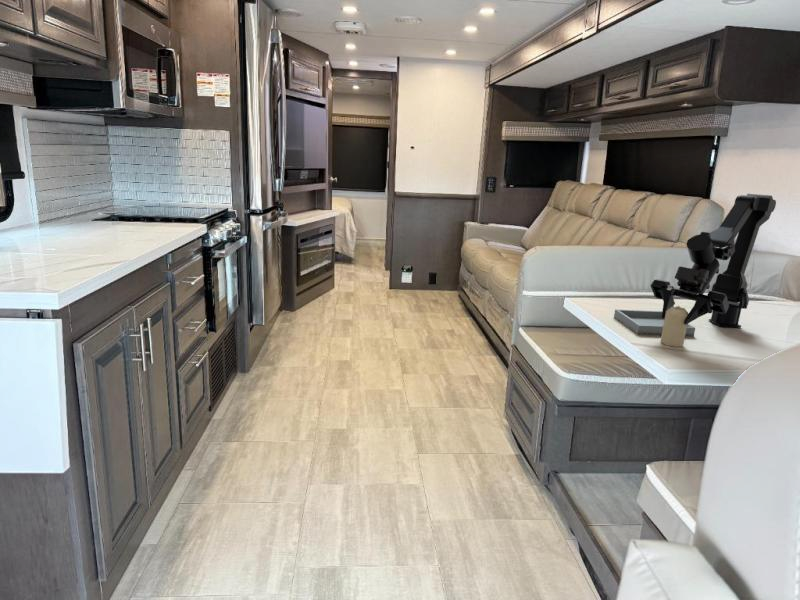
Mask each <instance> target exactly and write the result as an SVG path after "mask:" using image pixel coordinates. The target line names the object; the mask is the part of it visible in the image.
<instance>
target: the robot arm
mask: <svg viewBox="0 0 800 600" xmlns="http://www.w3.org/2000/svg"><path fill="white" fill-rule="evenodd" d="M773 198H774V197H773V196H772V195H769V194H756V193H747V194H746V195H745V194H741V195H737V196H736V197H735V200H734V204H733V205H732V206H731V209H730V210H729V212H728V213H727V215H726V216H725V218H724V219H723V221H722V222H721V223H720V225H719V227H718V228H717V229H715V230H712V231H710V232H706V231H701V232H700V233H699V234H696V235H692V237H690V238H688V240H686V247H687V250H688V255H689V259H690V261H691V262H692V263H693V265H692V267H684V266H678V268H677V271H676V273H675V276H674V279H676V280H677V282H676V284H677V287H679V288H677V287H674V286H673V285H671V283H670V281H667V280H665V279H658V278H657V279H653V281H652V282H651V284H650V288H651V289H650V290H651V291H652V294H653V296H654V297H655V298H656V299H659V300H662V301H663V303H662V304H663V305H662V318H663V319H664V318H665V314H666V311H667V310H668V309H670V308H671V307H672V306H673V307H675V304H676V303H675V300H674V298H675V297H679V298H682V299H686V300H691V301H695V303H694V305H693V306H692V308H691V310H690V311H689V312H688V313H689V314H688V315H687V317H686V319H685V321H684V324H685V325H687V324H690V323H692V322H693V321H695V320H697V319H698V318H700V317H702V316H705V315H707V314H711V317H710V318H709V319H708V322H711V323H713V324H714V325H716V326H719V327H722V328H742V325H740V324H739V321H740V317H741V312H742V309H746V310H747V309H748V305H749V301H750V298H749V294H748V289H747V287H748V281H747V279H746V275H745V273H746V270H747V267H748V263H749V261H750V259H751V255H752V251H753V248H754V246H755V242H756V240H757V236H758V233H759V231H760V227H761V226H762V225H763V224H764V223H766V222H767V221H768V220H770V217H771V215H772V213H773V212H774V210H775V209H776V207H777V206H776V205H777V200H775V199H773ZM735 239H736V240H735ZM728 260H729V262H728V264H727V267H726V269H725V270H724V271H723V272H722V273H719V272H720V261H728ZM716 274H717V276H716V279H715V282H714V283H713V284H712V287H711V285H710V283H711V282H712V280H713V278H714V277H715V275H716ZM710 288H711V290H709V289H710ZM706 290H709V291H708V293H707V295H706V294H704V293H705V292H706Z"/></svg>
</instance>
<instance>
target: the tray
mask: <svg viewBox="0 0 800 600" xmlns="http://www.w3.org/2000/svg"><path fill="white" fill-rule="evenodd" d="M662 311H663V310H662ZM662 311H661V310H642V309H641V310H638V309H636V310H635V309H615V310H614V314H613V318H614V319H615V320H617V321H618V320H619V323H621V324H623V325H624V326H625V327H627V328H628V329H629V330H631V331H633V332H634V333H636V334H637V335H645V336H646V335H650V336H651V335H652V336H662V330H663V325H664V319H665V318H664V319H663V318H662ZM695 331H696V327H695V326H693V325H691V324H690V323H688V324H687V329H686V334H685V337H694V336H695Z"/></svg>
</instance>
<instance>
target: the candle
mask: <svg viewBox="0 0 800 600" xmlns="http://www.w3.org/2000/svg"><path fill="white" fill-rule="evenodd" d="M688 314H689V312H688V311H687V309H686V308H684V307H681V306H679V305H678V306H672V307H671V308H670V309H668V310H667V311H666V314H665V319H664V325H663V330H662V335H660V336H661V337H660V343H662V344H663V345H666V346H669V347H675V348H680V347H683V346H684V343H685V338H686V336H685V334H686V329H687V325H685V324H684V321H685V319H686V317H687V315H688Z"/></svg>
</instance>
